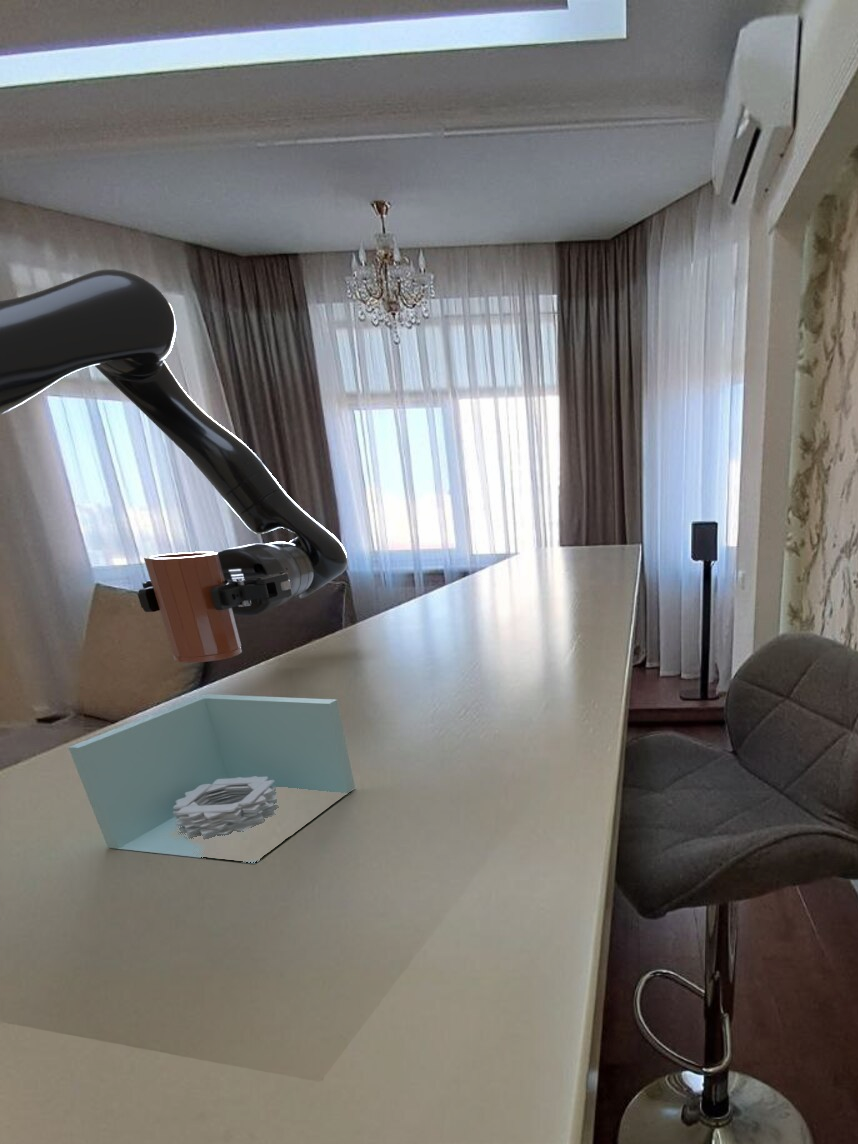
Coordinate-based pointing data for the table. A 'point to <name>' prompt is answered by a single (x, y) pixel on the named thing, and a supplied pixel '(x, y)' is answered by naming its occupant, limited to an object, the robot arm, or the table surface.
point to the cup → (193, 606)
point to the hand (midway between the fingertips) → (180, 600)
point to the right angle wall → (209, 768)
